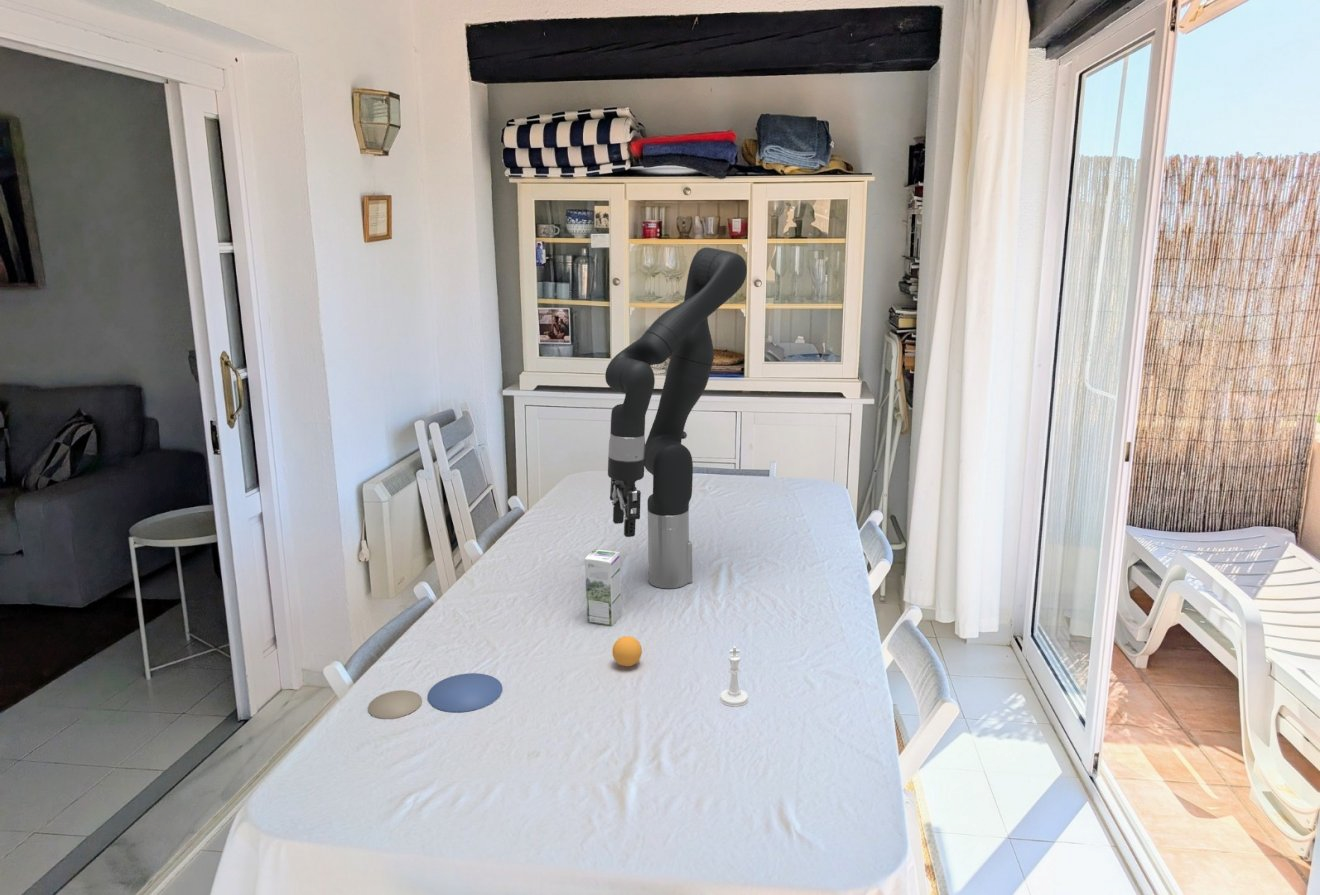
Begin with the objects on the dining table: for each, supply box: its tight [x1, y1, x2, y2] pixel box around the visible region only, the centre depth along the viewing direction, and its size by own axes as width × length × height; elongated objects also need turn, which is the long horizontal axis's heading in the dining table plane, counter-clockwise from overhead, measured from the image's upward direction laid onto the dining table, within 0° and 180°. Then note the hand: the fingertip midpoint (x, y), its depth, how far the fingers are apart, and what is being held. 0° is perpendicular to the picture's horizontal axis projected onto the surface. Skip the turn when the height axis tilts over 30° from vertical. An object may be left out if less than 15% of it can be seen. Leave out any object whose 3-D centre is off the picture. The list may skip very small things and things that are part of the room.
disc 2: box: [427, 672, 503, 713], centre depth 162 cm, size 13×13×1 cm
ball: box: [611, 635, 643, 667], centre depth 171 cm, size 6×6×6 cm
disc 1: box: [367, 689, 423, 720], centre depth 158 cm, size 9×9×1 cm
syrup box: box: [584, 548, 623, 627], centre depth 188 cm, size 6×6×14 cm
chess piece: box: [719, 645, 749, 708], centre depth 158 cm, size 5×5×10 cm
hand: (623, 529), depth 192 cm, fingers open, 8 cm apart
